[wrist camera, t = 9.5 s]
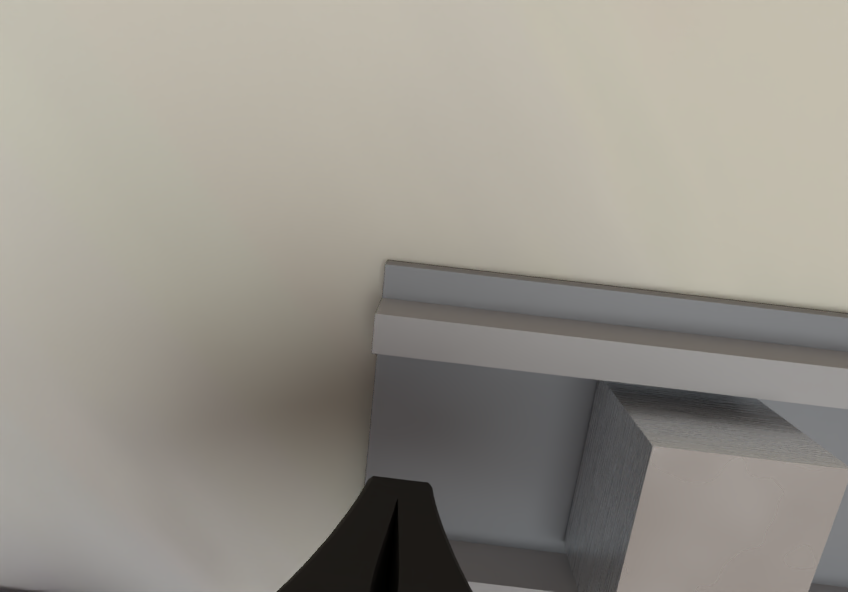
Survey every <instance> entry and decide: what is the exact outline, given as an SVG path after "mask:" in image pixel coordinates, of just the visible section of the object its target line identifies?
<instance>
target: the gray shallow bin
mask: <svg viewBox="0 0 848 592" xmlns="http://www.w3.org/2000/svg"><path fill="white" fill-rule="evenodd" d="M372 353H373V354H377V360H376V371H375V381H374V392H373V402H372V413H371V424H370V434H369V445H368V456H367V466H366V477H365V485H366V482H367V480H368V479H370V478H371V477H372V476H379V477H388V478H396V479H404V480H412V481H420V482H428V483H429V484H430V485H431V486H432V488H433V494H434V499H435V503H436V506H437V510H438V513H439V516H440V519H441V522H442V525H443V528H444V530H445V533H446V535H447V538H448V540H449V543H450V545H451V547H452V550H453V552H454V555H455V557H456V559H457V561H458V563H459V566H460V568H461V570H462V572H463V574H464V576H465V578H466V580H467V582H468V584H469V586H470V588H471V590H472V591H473V592H579V591H578V588H577V585H576V582H575V579H574V576H573V572H572V569H571V566H570V563H569V560H568V557H567V554H566V551H565V547H564V540H565V535H566V530H567V526H568V521H569V516H570V511H571V507H572V502H573V497H574V493H575V488H576V483H577V479H578V474H579V469H580V464H581V460H582V455H583V450H584V446H585V441H586V436H587V431H588V427H589V422H590V417H591V413H592V408H593V403H594V398H595V394H596V389H597V384H598V380H603V381H612V382H620V383H629V384H637V385H646V386H654V387H663V388H671V389H680V390H688V391H697V392H705V393H714V394H722V395H731V396H739V397H748V398H756V399H758V400H759V401H761V402H762V403H764V404H765V405H766V406H768V407H769V408H770V409H772V410H773V411H774V412H776V413H777V414H778V415H780V416H781V417H782V418H784V419H785V420H786V421H788V422H789V423H790V424H792V425H793V426H795V427H796V428H797V429H799V430H800V431H801V432H803V433H804V434H805V435H807V436H808V437H809V438H811V439H812V440H813V441H815V442H816V443H817V444H819V445H820V446H821V447H823V448H824V449H825V450H827V451H828V452H830V453H831V454H832V455H834V456H835V457H836V458H838V459H839V460H840V461H842V462H843V463H844V464H846V465H847V466H848V314H847V313H838V312H829V311H821V310H812V309H804V308H795V307H786V306H778V305H769V304H761V303H752V302H743V301H735V300H726V299H718V298H709V297H700V296H692V295H683V294H675V293H666V292H657V291H649V290H640V289H632V288H623V287H614V286H606V285H597V284H589V283H580V282H571V281H563V280H554V279H546V278H537V277H528V276H520V275H511V274H503V273H494V272H485V271H477V270H468V269H460V268H451V267H442V266H434V265H425V264H417V263H408V262H399V261H391V260H388V261H387V263H386V264H385V275H384V285H383V296H382V300H381V302H380V304H379V306H378V308H377V311H376V313H375V320H374V331H373V342H372ZM808 592H848V484H847V487H846V489H845V492H844V495H843V498H842V500H841V503H840V506H839V509H838V511H837V514H836V517H835V520H834V522H833V525H832V528H831V531H830V533H829V536H828V539H827V542H826V544H825V547H824V550H823V553H822V555H821V558H820V561H819V564H818V566H817V569H816V572H815V575H814V577H813V580H812V583H811V586H810V588H809V591H808Z"/></svg>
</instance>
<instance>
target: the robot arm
mask: <svg viewBox="0 0 848 592" xmlns="http://www.w3.org/2000/svg"><path fill="white" fill-rule="evenodd" d="M277 592H473V591H472V590H471V588H470V586H469V584H468V582H467V580H466V578H465V576H464V574H463V572H462V570H461V568H460V566H459V563H458V561H457V559H456V557H455V555H454V552H453V550H452V547H451V545H450V543H449V540H448V538H447V535H446V533H445V530H444V528H443V525H442V522H441V519H440V516H439V513H438V510H437V506H436V503H435V499H434V494H433V488H432V486H431V485H430V484H429V483H428V482H420V481H412V480H404V479H396V478H388V477H379V476H372V477H371V478H370V479H368V480H367V482H366V485H365V486H364V488H363V490H362V492H361V493H360V495H359V496H358V498H357V500H356V501H355V503H354V504H353V505H352V507H351V508H350V510H349V511H348V513H347V514H346V515H345V517H344V518H343V519H342V520H341V522H340V523H339V524H338V526H337V527H336V528H335V529H334V531H333V532H332V533H331V535H330V536H329V537H328V538H327V539H326V541H325V542H324V543H323V544H322V545H321V546H320V547H319V548H318V550H317V551H316V552H315V553H314V554H313V555H312V556H311V558H310V559H309V560H308V561H307V562H306V563H305V564H304V565H303V566H302V567H301V568H300V569H299V570H298V571H297V572H296V573H295V574H294V576H292V577H291V578H290V579H289V580H288V581H287V582H286V583H285V584H284V585H283V586H282V587H281V588H280V589H279V590H278V591H277Z"/></svg>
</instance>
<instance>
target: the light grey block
mask: <svg viewBox="0 0 848 592" xmlns="http://www.w3.org/2000/svg"><path fill="white" fill-rule="evenodd" d="M847 484H848V466H847V465H846V464H844V463H843V462H842V461H840V460H839V459H838V458H836V457H835V456H834V455H832V454H831V453H830V452H828V451H827V450H825V449H824V448H823V447H821V446H820V445H819V444H817V443H816V442H815V441H813V440H812V439H811V438H809V437H808V436H807V435H805V434H804V433H803V432H801V431H800V430H799V429H797V428H796V427H795V426H793V425H792V424H790V423H789V422H788V421H786V420H785V419H784V418H782V417H781V416H780V415H778V414H777V413H776V412H774V411H773V410H772V409H770V408H769V407H768V406H766V405H765V404H764V403H762V402H761V401H759V400H758V399H756V398H748V397H739V396H731V395H722V394H714V393H705V392H697V391H688V390H680V389H671V388H663V387H654V386H646V385H637V384H629V383H620V382H612V381H603V380H598V384H597V389H596V394H595V398H594V403H593V408H592V413H591V417H590V422H589V427H588V431H587V436H586V441H585V446H584V450H583V455H582V460H581V464H580V469H579V474H578V479H577V483H576V488H575V493H574V497H573V502H572V507H571V511H570V516H569V521H568V526H567V530H566V535H565V540H564V547H565V551H566V554H567V557H568V560H569V563H570V566H571V569H572V572H573V576H574V579H575V582H576V585H577V588H578V591H579V592H808V591H809V588H810V586H811V583H812V580H813V577H814V575H815V572H816V569H817V566H818V564H819V561H820V558H821V555H822V553H823V550H824V547H825V544H826V542H827V539H828V536H829V533H830V531H831V528H832V525H833V522H834V520H835V517H836V514H837V511H838V509H839V506H840V503H841V500H842V498H843V495H844V492H845V489H846V487H847Z"/></svg>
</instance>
